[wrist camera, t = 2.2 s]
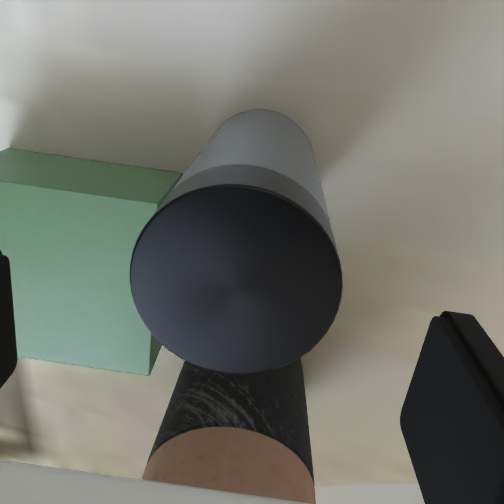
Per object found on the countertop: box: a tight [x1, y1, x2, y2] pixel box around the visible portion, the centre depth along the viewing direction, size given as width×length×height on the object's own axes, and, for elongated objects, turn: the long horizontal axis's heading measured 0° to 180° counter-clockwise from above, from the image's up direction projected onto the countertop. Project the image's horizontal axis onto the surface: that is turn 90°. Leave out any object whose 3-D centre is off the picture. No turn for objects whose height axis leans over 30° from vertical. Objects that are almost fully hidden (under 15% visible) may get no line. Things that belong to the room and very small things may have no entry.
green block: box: [0, 148, 182, 376], centre depth 24 cm, size 9×9×5 cm
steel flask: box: [129, 110, 343, 374], centre depth 18 cm, size 5×5×13 cm
